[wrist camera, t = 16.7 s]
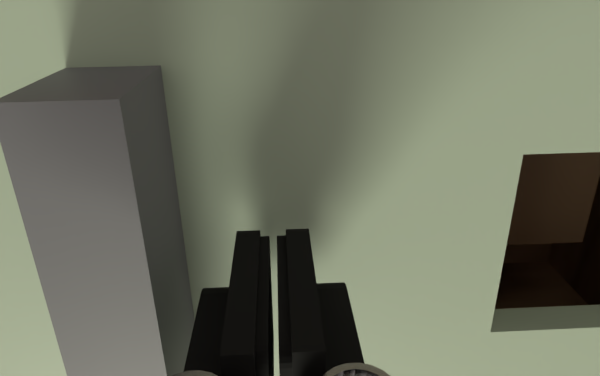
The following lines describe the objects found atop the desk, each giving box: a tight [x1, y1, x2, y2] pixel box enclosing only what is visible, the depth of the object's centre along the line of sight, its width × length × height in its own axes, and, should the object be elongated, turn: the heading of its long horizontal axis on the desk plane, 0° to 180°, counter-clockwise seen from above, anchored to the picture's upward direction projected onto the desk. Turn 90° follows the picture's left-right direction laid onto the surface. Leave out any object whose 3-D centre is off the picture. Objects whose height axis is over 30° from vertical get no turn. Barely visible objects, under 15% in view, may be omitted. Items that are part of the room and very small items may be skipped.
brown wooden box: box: [495, 152, 600, 309], centre depth 17 cm, size 26×14×8 cm, turn 91°
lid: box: [0, 0, 600, 376], centre depth 12 cm, size 26×14×4 cm, turn 91°
